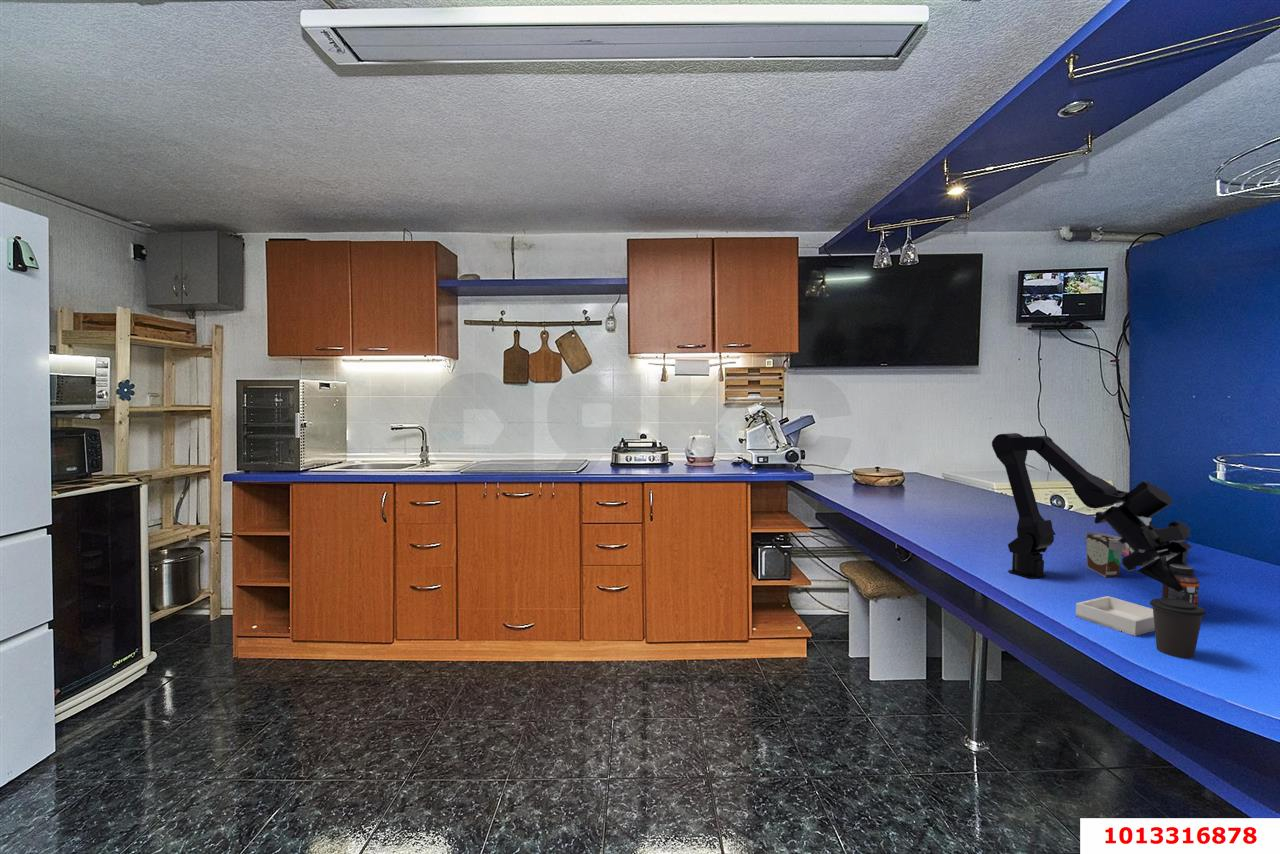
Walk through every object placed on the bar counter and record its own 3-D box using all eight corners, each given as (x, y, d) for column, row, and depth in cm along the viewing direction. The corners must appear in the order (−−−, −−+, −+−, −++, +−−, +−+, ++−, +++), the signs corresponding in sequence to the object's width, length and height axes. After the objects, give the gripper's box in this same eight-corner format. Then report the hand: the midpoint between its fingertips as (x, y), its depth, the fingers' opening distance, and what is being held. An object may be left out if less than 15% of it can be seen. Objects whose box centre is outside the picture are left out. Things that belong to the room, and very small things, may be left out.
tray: (1075, 616, 130) (1076, 603, 130) (1107, 609, 135) (1107, 595, 134) (1135, 636, 120) (1135, 621, 120) (1167, 627, 124) (1167, 613, 124)
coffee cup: (1138, 641, 118) (1140, 592, 117) (1187, 645, 115) (1190, 596, 115) (1161, 658, 110) (1164, 606, 109) (1214, 664, 108) (1217, 611, 107)
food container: (1135, 580, 155) (1137, 543, 154) (1109, 579, 156) (1110, 542, 155) (1108, 566, 167) (1109, 532, 166) (1083, 565, 168) (1085, 531, 167)
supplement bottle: (1200, 622, 126) (1203, 571, 126) (1164, 617, 130) (1167, 567, 129) (1193, 613, 132) (1195, 564, 131) (1158, 608, 135) (1160, 560, 134)
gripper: (1140, 513, 129) (1202, 576, 119) (1182, 505, 137) (1244, 564, 127) (1098, 540, 136) (1154, 601, 127) (1140, 531, 144) (1196, 588, 135)
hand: (1188, 588), depth 129 cm, fingers closed on supplement bottle, 6 cm apart
